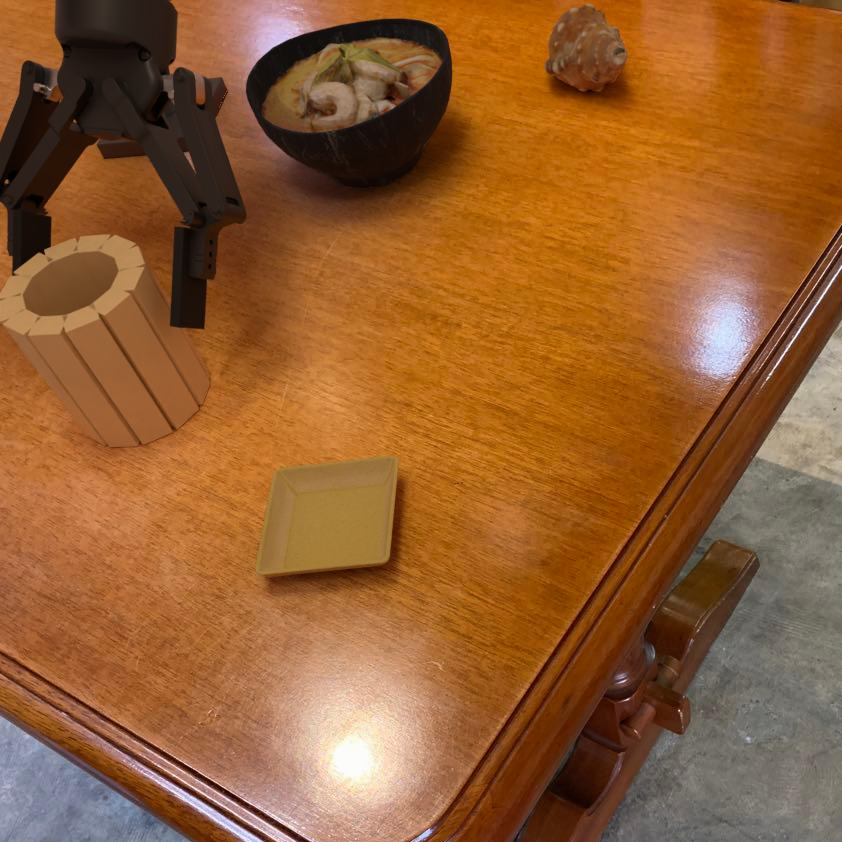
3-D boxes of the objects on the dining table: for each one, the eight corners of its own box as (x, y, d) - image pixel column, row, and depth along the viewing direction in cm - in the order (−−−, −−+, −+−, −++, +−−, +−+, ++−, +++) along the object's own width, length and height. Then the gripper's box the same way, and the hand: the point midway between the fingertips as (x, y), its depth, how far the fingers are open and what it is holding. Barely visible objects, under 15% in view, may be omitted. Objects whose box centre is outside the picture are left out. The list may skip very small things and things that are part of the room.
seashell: (650, 92, 97) (667, 23, 87) (586, 144, 96) (596, 80, 86) (584, 23, 98) (594, -52, 88) (520, 74, 97) (523, 3, 87)
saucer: (264, 592, 65) (252, 574, 63) (283, 486, 70) (273, 466, 68) (397, 581, 64) (388, 562, 62) (407, 474, 69) (399, 453, 67)
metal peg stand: (103, 158, 99) (39, 42, 89) (136, 99, 104) (78, -16, 95) (200, 150, 97) (145, 30, 88) (228, 90, 103) (178, -28, 93)
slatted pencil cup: (61, 449, 75) (-27, 338, 67) (106, 352, 81) (30, 239, 72) (187, 445, 74) (114, 330, 65) (224, 346, 80) (161, 229, 71)
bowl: (318, 107, 98) (281, 2, 90) (490, 103, 94) (468, -7, 86) (255, 221, 89) (208, 115, 81) (443, 222, 85) (413, 111, 77)
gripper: (312, 13, 68) (289, 339, 72) (16, 6, 75) (11, 301, 80) (244, -28, 61) (223, 335, 65) (-75, -31, 68) (-75, 294, 73)
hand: (106, 317), depth 72 cm, fingers open, 13 cm apart
